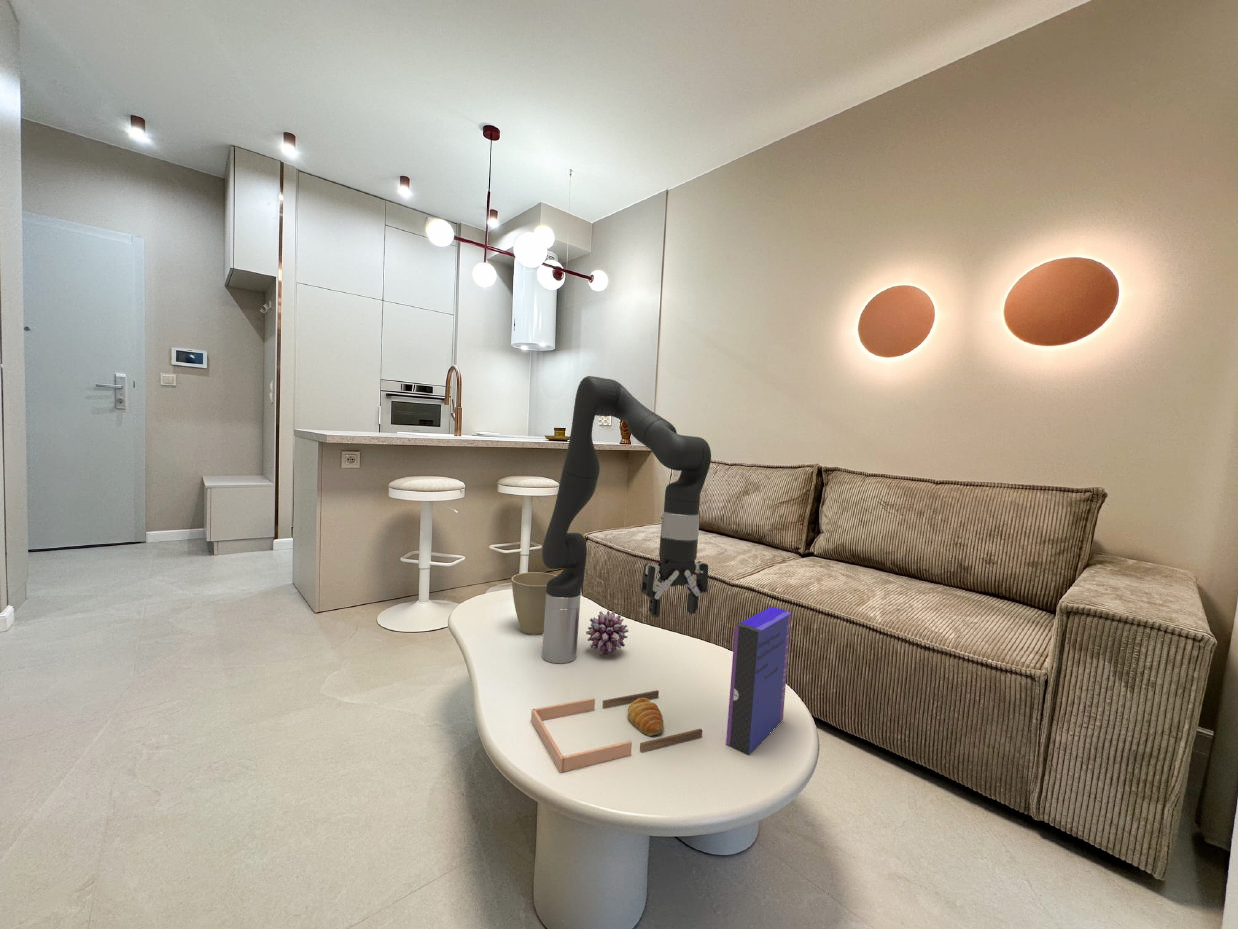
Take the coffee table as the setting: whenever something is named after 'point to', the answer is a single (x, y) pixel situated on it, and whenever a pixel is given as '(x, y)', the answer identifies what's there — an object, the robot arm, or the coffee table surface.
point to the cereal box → (758, 678)
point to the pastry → (645, 716)
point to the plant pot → (530, 600)
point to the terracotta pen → (578, 758)
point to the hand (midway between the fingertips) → (672, 614)
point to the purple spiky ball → (607, 632)
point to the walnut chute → (656, 742)
